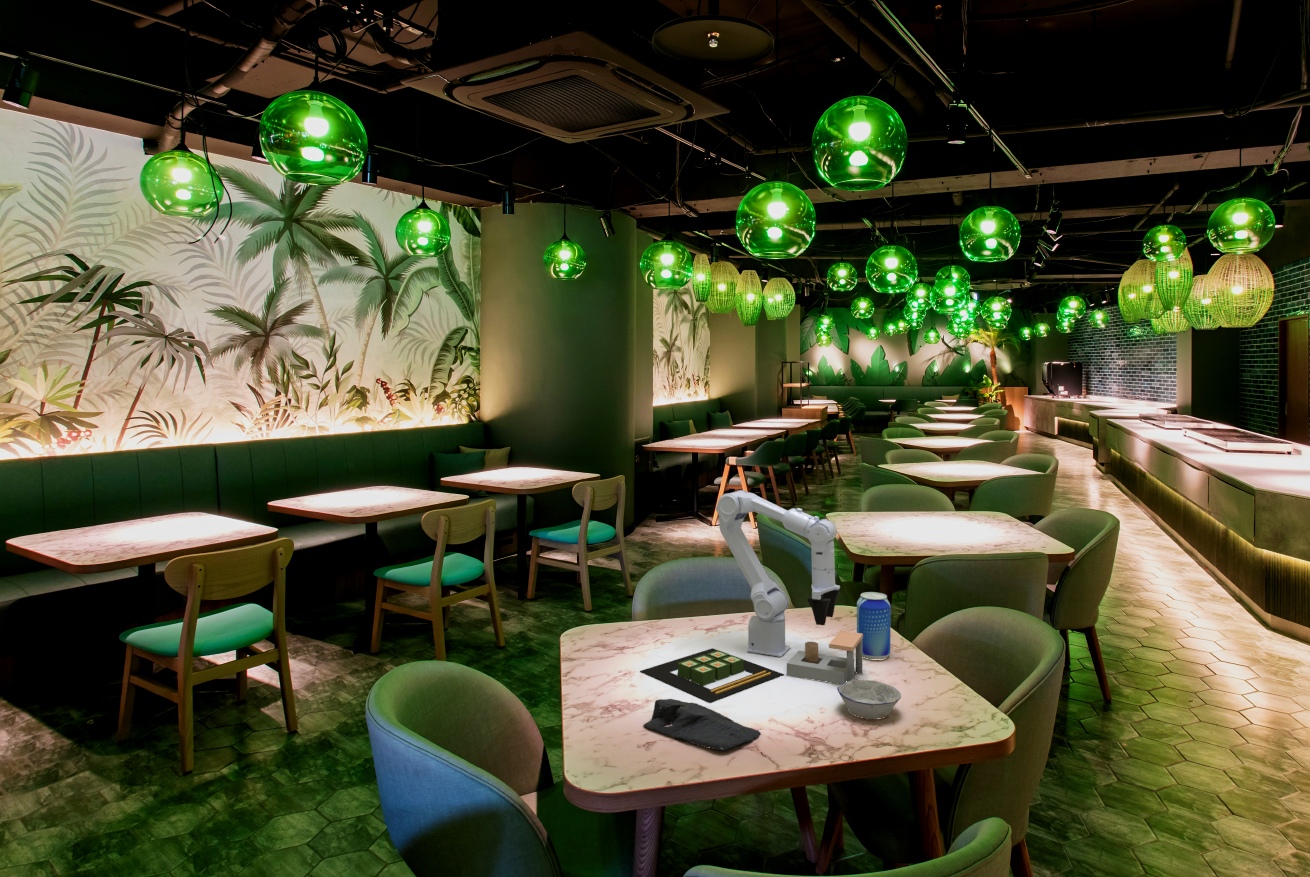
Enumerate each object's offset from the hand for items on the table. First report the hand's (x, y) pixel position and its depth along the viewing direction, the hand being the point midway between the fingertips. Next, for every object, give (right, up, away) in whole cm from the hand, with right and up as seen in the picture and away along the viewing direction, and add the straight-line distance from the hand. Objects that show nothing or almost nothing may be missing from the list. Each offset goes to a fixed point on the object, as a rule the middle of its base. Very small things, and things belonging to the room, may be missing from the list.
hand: (824, 620), depth 186 cm
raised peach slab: (+3, -11, -11) cm, 16 cm away
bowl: (+2, -12, -30) cm, 32 cm away
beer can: (+14, -10, +3) cm, 17 cm away
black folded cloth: (-34, -14, -38) cm, 53 cm away
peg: (-5, -11, -7) cm, 14 cm away
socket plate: (-3, -11, -8) cm, 14 cm away
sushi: (-30, -12, -7) cm, 33 cm away
